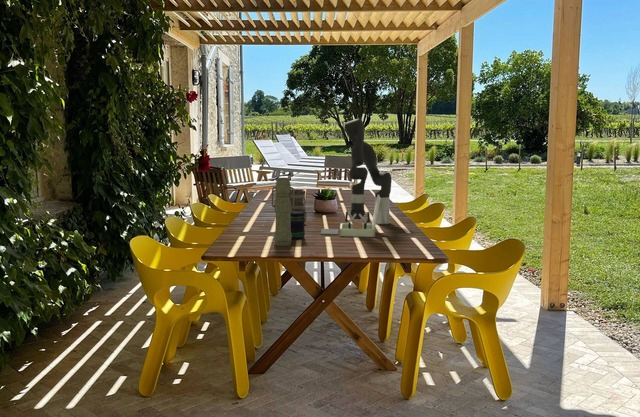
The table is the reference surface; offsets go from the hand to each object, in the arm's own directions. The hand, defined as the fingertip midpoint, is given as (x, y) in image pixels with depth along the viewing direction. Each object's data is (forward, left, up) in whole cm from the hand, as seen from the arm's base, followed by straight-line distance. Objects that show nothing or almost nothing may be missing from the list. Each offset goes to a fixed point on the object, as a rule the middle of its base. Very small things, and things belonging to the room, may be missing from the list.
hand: (357, 229), depth 337 cm
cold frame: (-1, 0, -2) cm, 3 cm away
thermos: (+39, +38, -3) cm, 55 cm away
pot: (0, 0, -2) cm, 2 cm away
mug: (+44, -87, -3) cm, 98 cm away
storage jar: (+34, +21, -3) cm, 40 cm away
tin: (+39, -25, -3) cm, 46 cm away
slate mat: (+16, 0, -2) cm, 16 cm away
